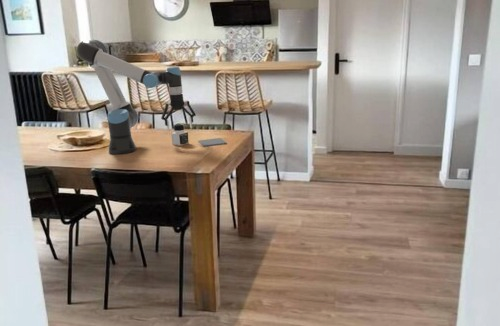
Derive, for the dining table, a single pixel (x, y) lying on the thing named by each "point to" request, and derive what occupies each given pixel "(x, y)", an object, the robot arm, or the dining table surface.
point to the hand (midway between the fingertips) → (179, 129)
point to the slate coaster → (212, 142)
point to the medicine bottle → (179, 135)
